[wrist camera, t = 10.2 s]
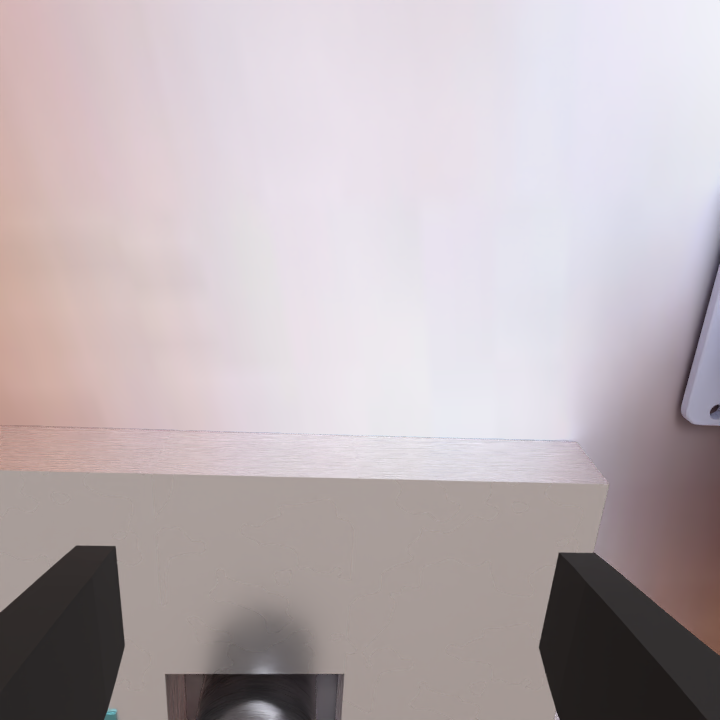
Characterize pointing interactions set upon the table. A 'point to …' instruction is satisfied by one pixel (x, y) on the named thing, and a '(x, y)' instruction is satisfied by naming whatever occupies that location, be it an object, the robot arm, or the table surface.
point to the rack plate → (311, 559)
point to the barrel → (258, 697)
